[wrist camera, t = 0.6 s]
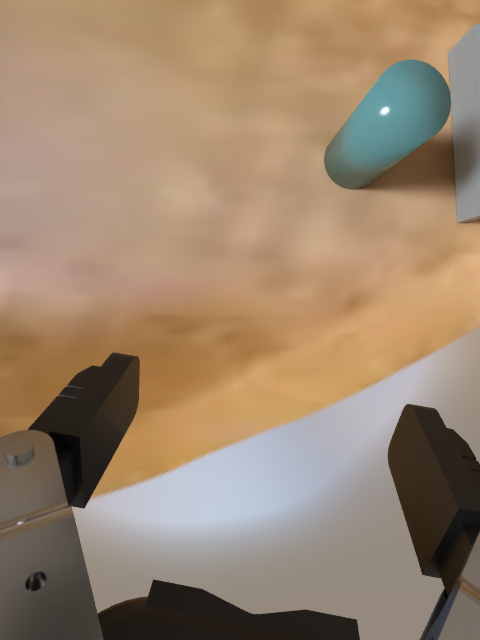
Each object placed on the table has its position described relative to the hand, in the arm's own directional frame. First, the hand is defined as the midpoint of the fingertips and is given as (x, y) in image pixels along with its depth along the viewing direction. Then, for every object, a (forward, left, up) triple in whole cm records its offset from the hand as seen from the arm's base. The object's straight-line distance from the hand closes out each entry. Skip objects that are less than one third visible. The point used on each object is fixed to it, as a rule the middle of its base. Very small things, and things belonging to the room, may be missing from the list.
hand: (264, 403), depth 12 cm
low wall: (-16, +22, -22) cm, 35 cm away
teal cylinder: (-15, +12, -22) cm, 29 cm away
